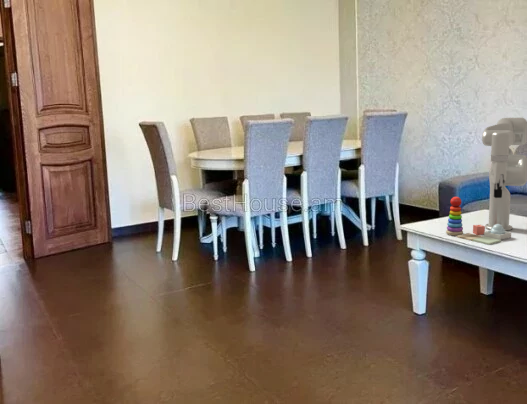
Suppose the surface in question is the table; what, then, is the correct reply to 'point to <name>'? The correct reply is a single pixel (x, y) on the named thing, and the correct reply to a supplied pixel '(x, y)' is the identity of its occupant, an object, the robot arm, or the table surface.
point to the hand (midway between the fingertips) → (497, 197)
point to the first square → (469, 236)
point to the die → (478, 229)
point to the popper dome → (498, 229)
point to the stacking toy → (455, 218)
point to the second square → (486, 240)
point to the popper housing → (496, 236)
